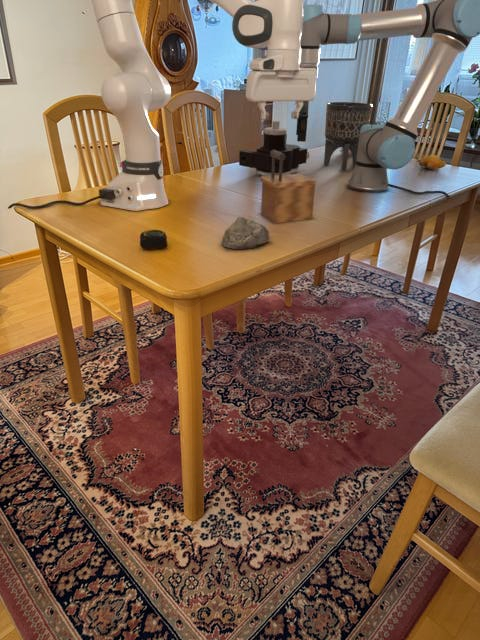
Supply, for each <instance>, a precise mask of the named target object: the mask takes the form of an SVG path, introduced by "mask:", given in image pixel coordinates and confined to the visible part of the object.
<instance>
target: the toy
mask: <svg viewBox="0 0 480 640" xmlns="http://www.w3.org/2000/svg"><path fill="white" fill-rule="evenodd" d="M417 162H418V165H419V166H420V167H425V168H427V169H429V170H432V171H433V170H434V171H435V170H438V169H443V168H444V167H446V166H447V162H446V161H444V160H442V159H441V158H440V156H439V155H435V154H431V155H426V156H423V157H421V158H420V159H418V160H417Z"/></svg>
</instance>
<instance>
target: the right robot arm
mask: <svg viewBox="0 0 480 640" xmlns="http://www.w3.org/2000/svg"><path fill="white" fill-rule="evenodd" d="M479 35H480V0H433V1H430V2H425V3H418V4H417V5H416V6H415V7H411V8H401V9H393V10H383V11H373V12H367V13H366V12H364V13H355V14H352V13H340V14H339V13H325V12H324V6H323V5H322V4H303V28H302V33H301V37H300V46H301V54H300V63H305V64H308V63H311V64H312V65H313V66H315V68H316V78H315V80H317V79H318V77H319V67H318V65H319V64H320V54H321V46H325V45H326V46H327V45H341V44H343V45H353V44H356V43H357V42H361V41H370V40H379V39H388V38H398V37H407V36H412V37H413V38H415V39H421V38H422V39H423V38H429V39H430V38H431V40H432V45H431V47H430V48H429V50H428V52H427V54H426V56H425V57H424V60H423V61H422V62H421V63H422V64H421V65H420V67H419V69H418V71H417V73H416V75H415V76H414V79H413V81H412V83H411V84H410V86H409V88H408V90H407V92H406V94H405V96H404V98H403V99H402V102H401V103H400V105H399V107H398V108H397V111H396V113H395V114H394V117H393V118H391V119H389V120H387V121H386V122H385V124H369V125H363V126H362V127H361V131H360V134H359V143H358V151H357V158H356V165H355V166H354V167H353V171H351V174H350V175H349V179H348V180H347V181H348V182H347V187H348V188H349V189H351V190H354V191H358V192H363V193H364V192H365V193H382V192H386V191H388V189H389V187H390V188H394V189H396V190H400V191H403V192H407V193H410V194H412V195H413V194H414V195H419V196H420V195H425V194H440V195H444V196H445V197H446V198H448V199H450V198H451V196H450V195H449V194H448V193H447V192H446V191H443V190H425V191H415V190H412V189H408V188H406V187H401V186H399V185H395V184H392V183H389V178H388V173H387V172H388V171H387V169H388V170H391V171H392V170H400V169H403V168H404V167H405V166H407V165H408V164H409V163H411V161H412V160H413V158H414V156H415V153H416V144H415V142H416V140H417V139H418V137H419V134H418V127H419V126H420V124H421V122H422V120H423V118H424V116H425V114H426V113H427V111H428V109H429V107H430V105H431V103H432V102H433V101H434V98H435V96H436V94H437V93H438V91H439V89H440V87H441V85H442V83H443V82H444V80H445V78H446V76H447V75H448V73H449V71H450V69H451V67H452V65H453V64H454V62H455V60H456V58H457V56H458V55H459V54H461V53H462V52H465V51H466V50H467V49H468V46H469V45H470V43H471V41H472V40H473V38H476V37H478V36H479ZM312 68H313V67H312ZM309 103H310V101H303V106H302V108H301V110H300V112H299V117H298V119H296V132H295V135H296V136H297V137H296V138H297V139H296V142H300V143H301V142H303V143H305V142H306V141H307V131H308V118H309V106H310V105H309Z"/></svg>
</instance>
